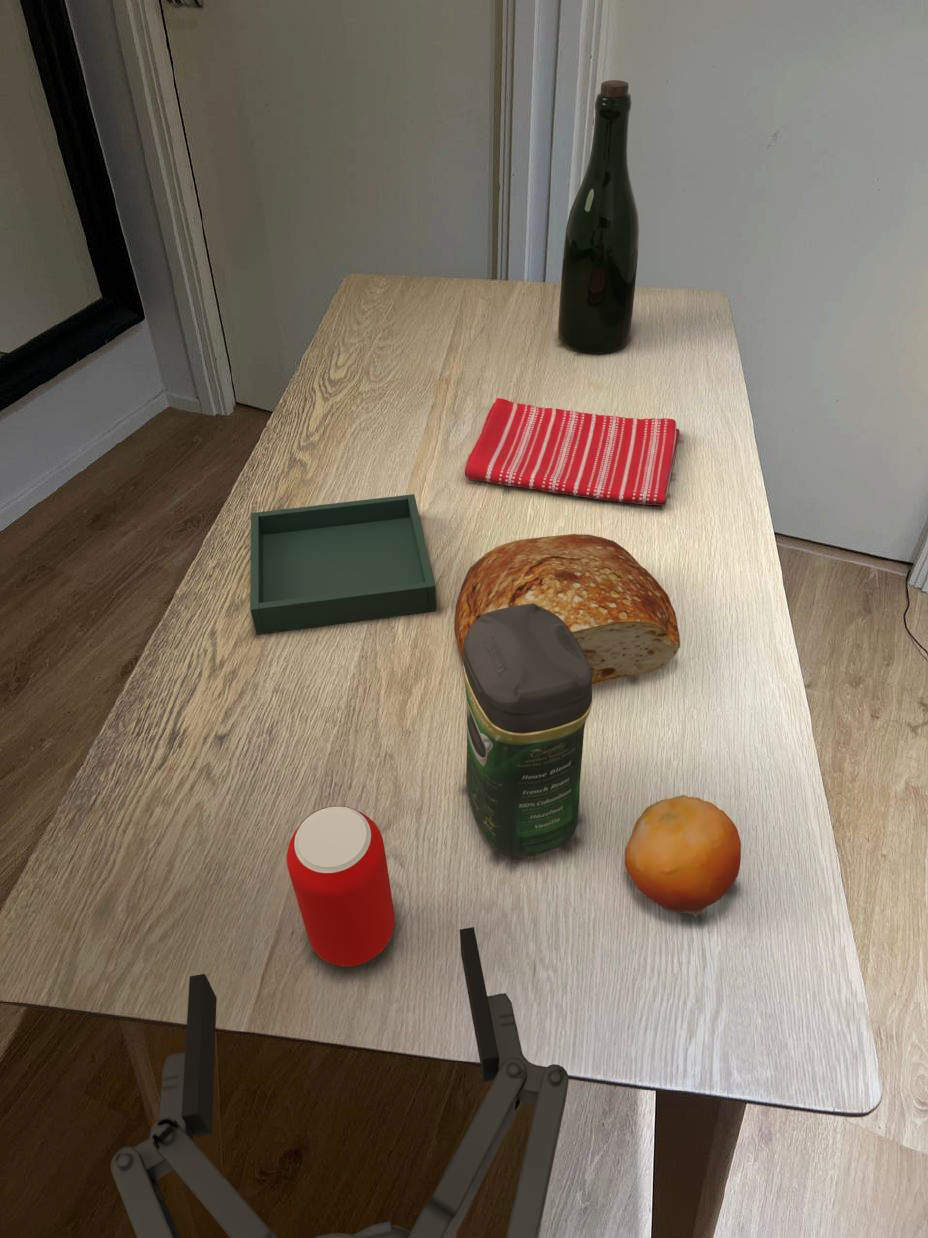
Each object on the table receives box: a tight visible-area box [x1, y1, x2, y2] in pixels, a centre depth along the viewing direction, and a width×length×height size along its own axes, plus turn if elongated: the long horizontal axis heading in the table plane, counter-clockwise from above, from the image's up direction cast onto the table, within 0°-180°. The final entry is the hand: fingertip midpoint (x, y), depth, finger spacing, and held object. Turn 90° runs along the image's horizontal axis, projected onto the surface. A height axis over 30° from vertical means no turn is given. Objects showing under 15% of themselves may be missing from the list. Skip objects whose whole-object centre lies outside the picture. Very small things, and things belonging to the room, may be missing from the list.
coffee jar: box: [462, 603, 593, 859], centre depth 64 cm, size 10×8×19 cm
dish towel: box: [464, 397, 680, 506], centre depth 106 cm, size 17×24×3 cm
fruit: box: [624, 794, 742, 919], centre depth 64 cm, size 8×8×8 cm
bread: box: [453, 533, 681, 685], centre depth 82 cm, size 20×18×10 cm
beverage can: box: [286, 805, 396, 967], centre depth 59 cm, size 6×6×12 cm
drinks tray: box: [249, 493, 437, 635], centre depth 91 cm, size 18×16×3 cm
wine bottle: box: [557, 79, 640, 354], centre depth 119 cm, size 10×10×33 cm
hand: (337, 963), depth 46 cm, fingers open, 13 cm apart
